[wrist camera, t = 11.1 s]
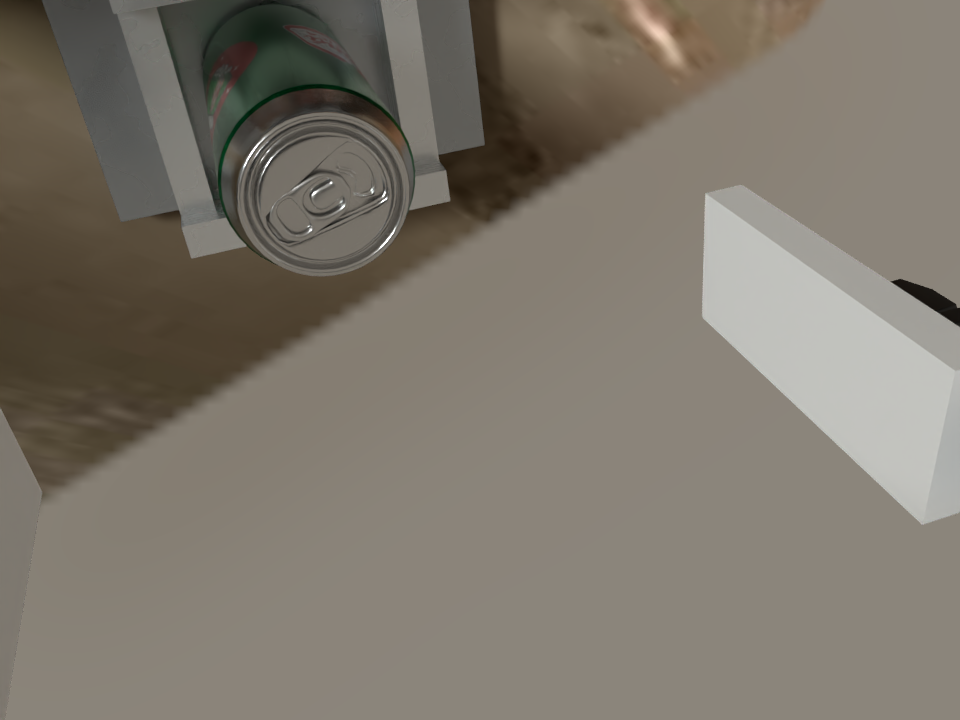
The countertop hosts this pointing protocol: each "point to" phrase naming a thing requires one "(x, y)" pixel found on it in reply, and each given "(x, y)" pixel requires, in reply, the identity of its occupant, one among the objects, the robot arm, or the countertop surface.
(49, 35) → the countertop surface
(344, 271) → the soda can
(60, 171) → the countertop surface
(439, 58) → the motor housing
